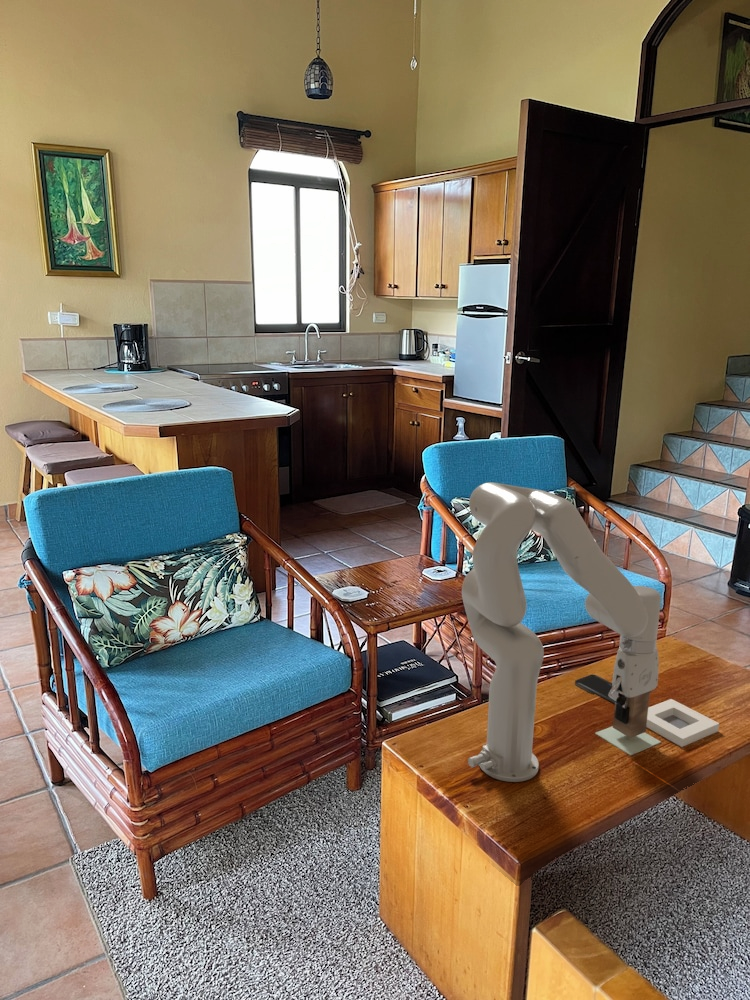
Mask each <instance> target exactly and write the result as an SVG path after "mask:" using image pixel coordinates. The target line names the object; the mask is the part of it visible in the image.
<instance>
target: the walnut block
mask: <svg viewBox="0 0 750 1000" xmlns="http://www.w3.org/2000/svg"><path fill="white" fill-rule="evenodd" d="M650 695H651V692H650V691H649V692H646V693H644V694H641V695H638V696H635V697H632V698H630V700H629V704H628V707H629V719H628V723H627V724H624V723H622V722H621V721H619V720H617V719H616V718H615V713H616V703H615V704H614V708H613V720H612V722H613V723H612V726H613V728H614V729H616V730H618V731H619V732H621V733H623V734H624V735H626V736H628V737H629V738H632V737H634V736H637V735H639V734H642V733H644V732H645V733H646V732H647V727H646V724H647V715H648V707H649V704H650V703H649V702H650V697H649V696H650ZM621 698H622V699H623V700H624V698H625V696H624V695H622V696H621Z"/></svg>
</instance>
